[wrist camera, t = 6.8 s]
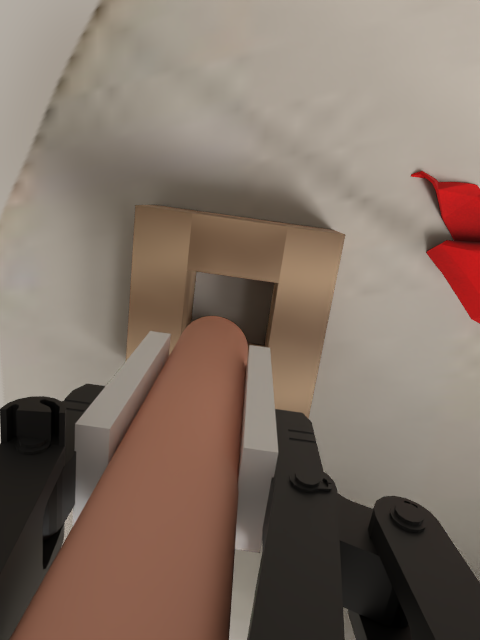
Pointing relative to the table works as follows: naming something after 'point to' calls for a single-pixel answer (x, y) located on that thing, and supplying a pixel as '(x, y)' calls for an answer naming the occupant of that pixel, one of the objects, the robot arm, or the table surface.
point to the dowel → (159, 510)
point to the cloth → (459, 240)
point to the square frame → (244, 262)
